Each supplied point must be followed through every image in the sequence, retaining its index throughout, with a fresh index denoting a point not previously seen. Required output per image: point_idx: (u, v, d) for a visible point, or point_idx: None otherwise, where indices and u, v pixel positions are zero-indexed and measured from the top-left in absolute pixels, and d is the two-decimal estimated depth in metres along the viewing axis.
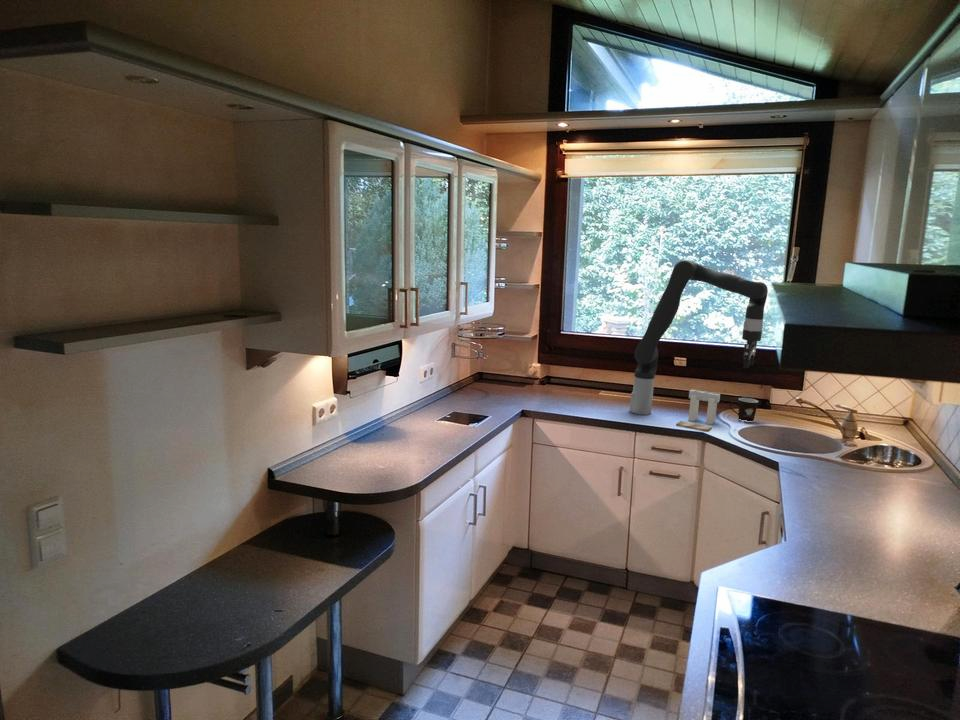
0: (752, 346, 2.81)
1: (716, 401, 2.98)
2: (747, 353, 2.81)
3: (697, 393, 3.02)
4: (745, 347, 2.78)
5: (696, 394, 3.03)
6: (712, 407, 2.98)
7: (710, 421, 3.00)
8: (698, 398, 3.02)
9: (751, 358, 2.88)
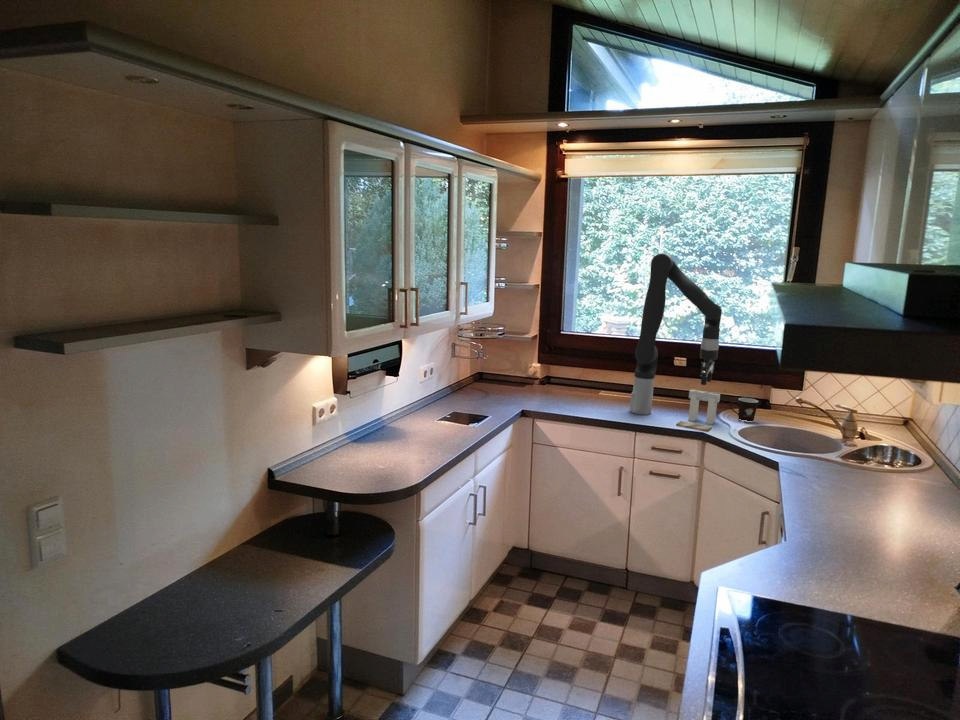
0: (709, 364, 2.97)
1: (716, 401, 2.98)
2: (704, 371, 2.97)
3: (697, 393, 3.02)
4: (702, 365, 2.94)
5: (696, 394, 3.03)
6: (712, 407, 2.98)
7: (710, 421, 3.00)
8: (698, 398, 3.02)
9: (709, 375, 3.04)
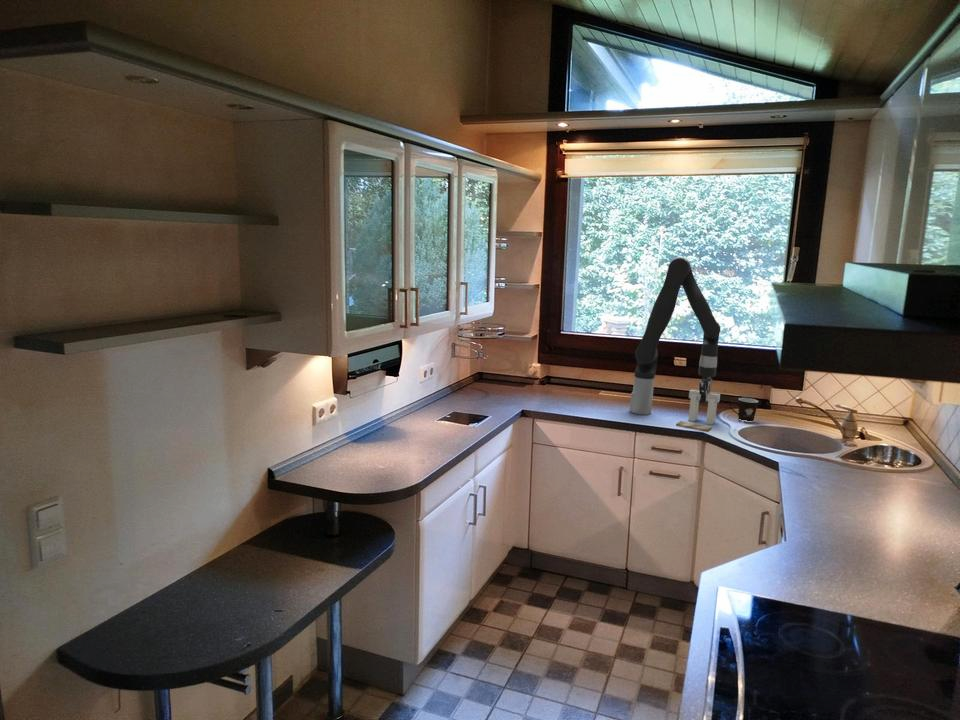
0: (707, 382, 2.99)
1: (716, 401, 2.98)
2: None
3: (697, 393, 3.02)
4: (700, 386, 2.97)
5: (696, 394, 3.03)
6: (712, 407, 2.98)
7: (710, 421, 3.00)
8: (698, 398, 3.02)
9: None
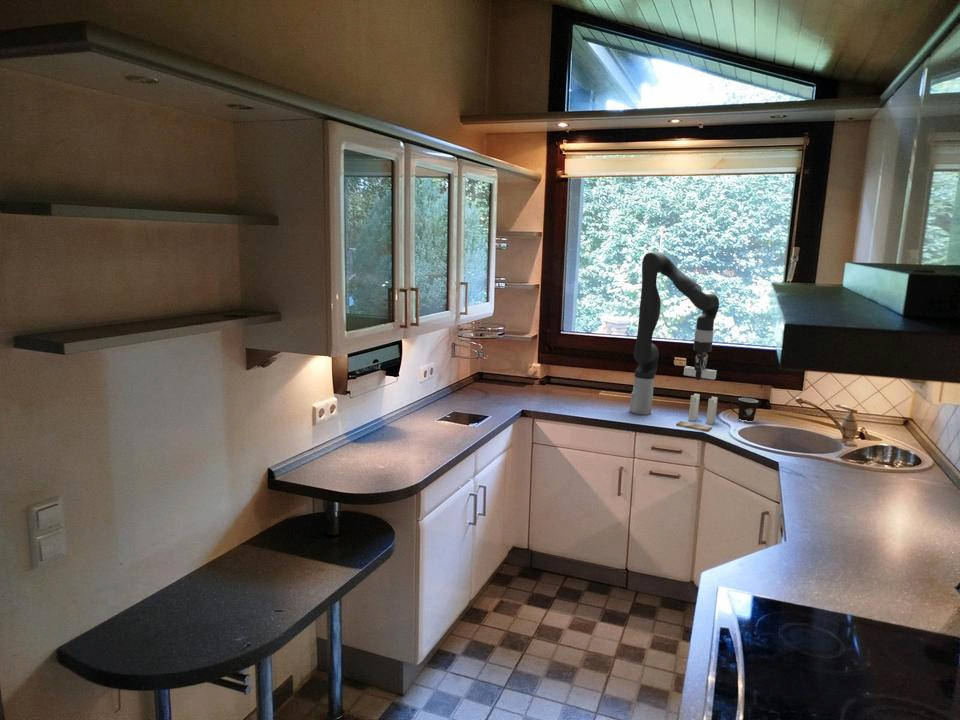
0: (703, 357, 2.86)
1: (712, 377, 2.85)
2: (698, 365, 2.87)
3: (692, 369, 2.89)
4: (695, 361, 2.83)
5: (691, 370, 2.89)
6: (712, 407, 2.98)
7: (710, 421, 3.00)
8: (693, 375, 2.89)
9: None
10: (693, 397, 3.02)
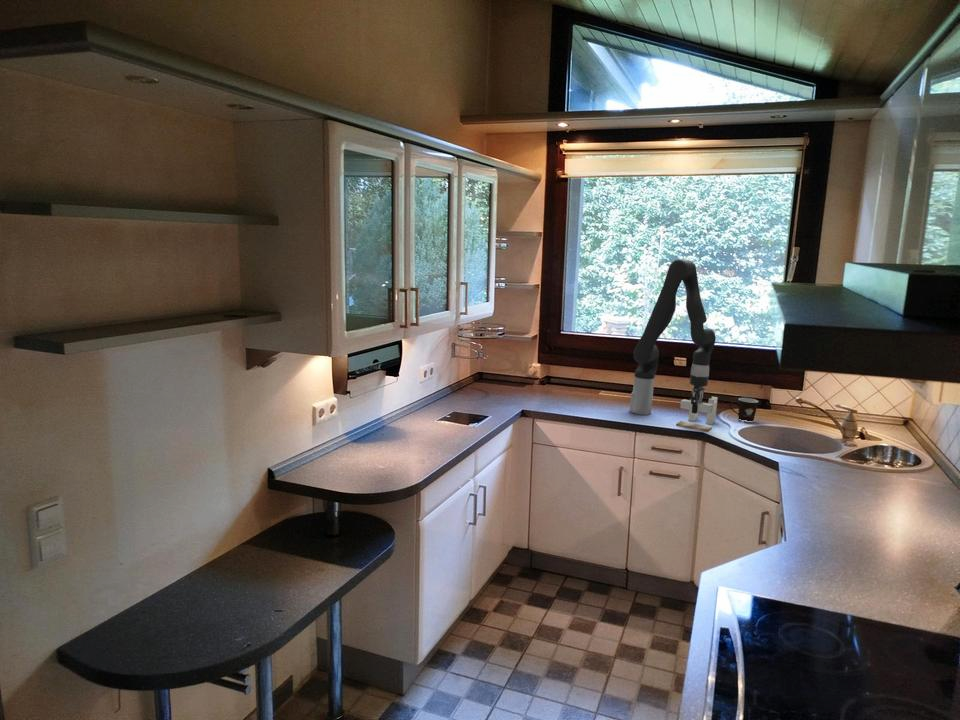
0: (699, 391, 2.89)
1: (708, 411, 2.88)
2: None
3: (689, 403, 2.92)
4: (692, 395, 2.86)
5: (688, 404, 2.92)
6: None
7: (710, 421, 3.00)
8: (690, 408, 2.92)
9: None
10: None
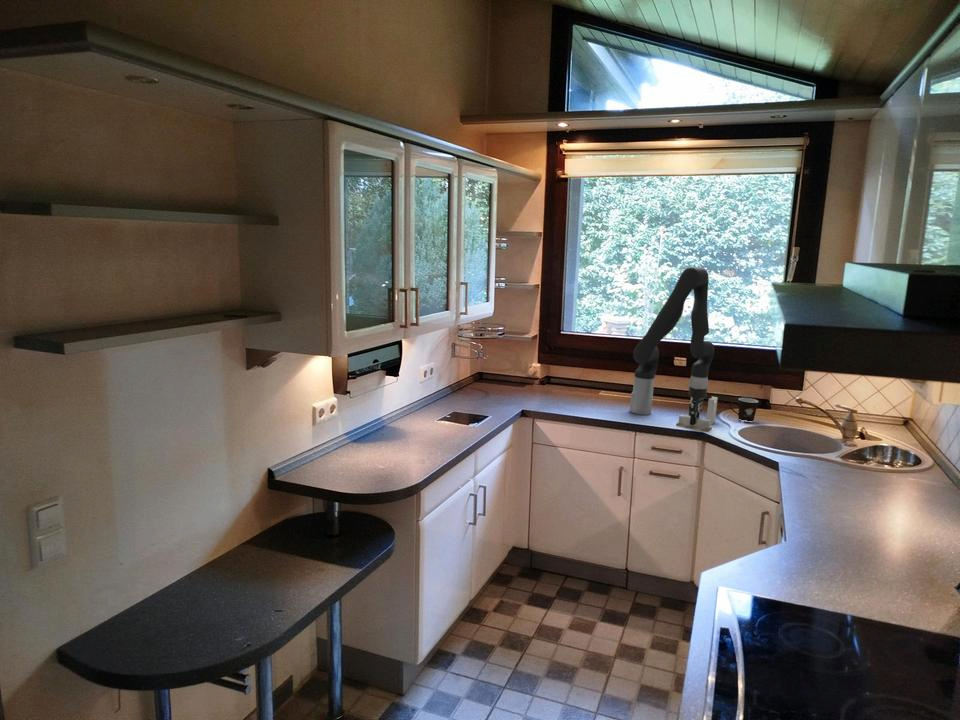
0: (697, 403, 2.90)
1: (706, 427, 2.89)
2: None
3: (687, 418, 2.93)
4: (690, 406, 2.87)
5: (686, 419, 2.94)
6: (712, 407, 2.98)
7: None
8: (688, 424, 2.94)
9: (697, 415, 2.95)
10: None
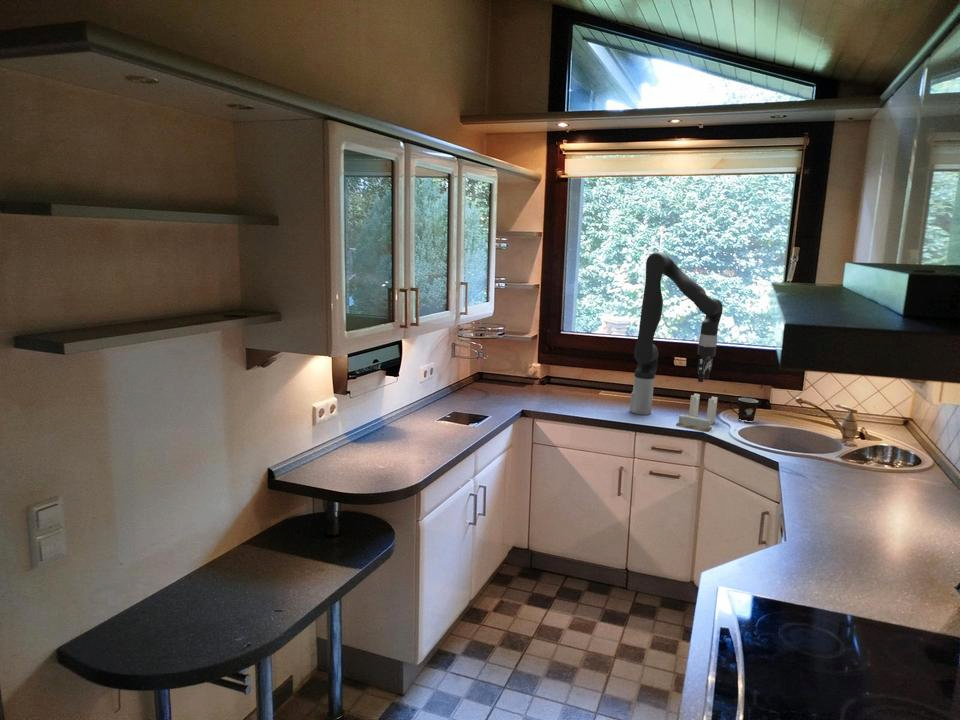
0: (707, 361, 2.89)
1: (706, 427, 2.89)
2: (701, 368, 2.89)
3: (687, 418, 2.93)
4: (699, 362, 2.86)
5: (686, 419, 2.94)
6: (712, 407, 2.98)
7: None
8: (688, 424, 2.94)
9: (707, 372, 2.96)
10: (693, 397, 3.02)
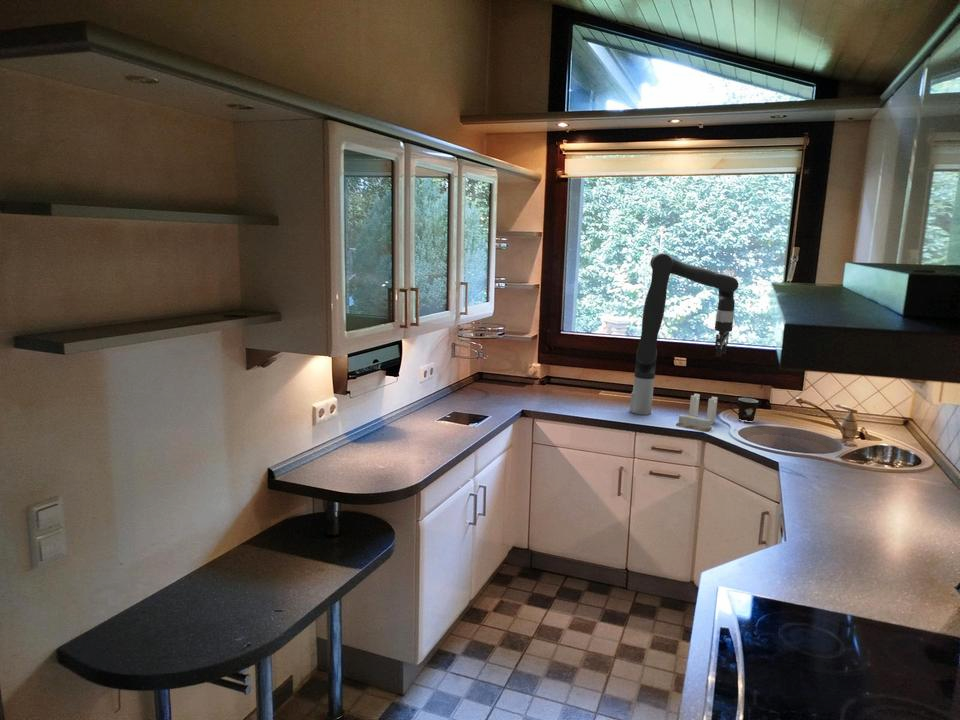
0: (724, 336, 3.00)
1: (706, 427, 2.89)
2: (719, 343, 3.00)
3: (687, 418, 2.93)
4: (717, 337, 2.97)
5: (686, 419, 2.94)
6: (712, 407, 2.98)
7: None
8: (688, 424, 2.94)
9: (723, 348, 3.07)
10: (693, 397, 3.02)
